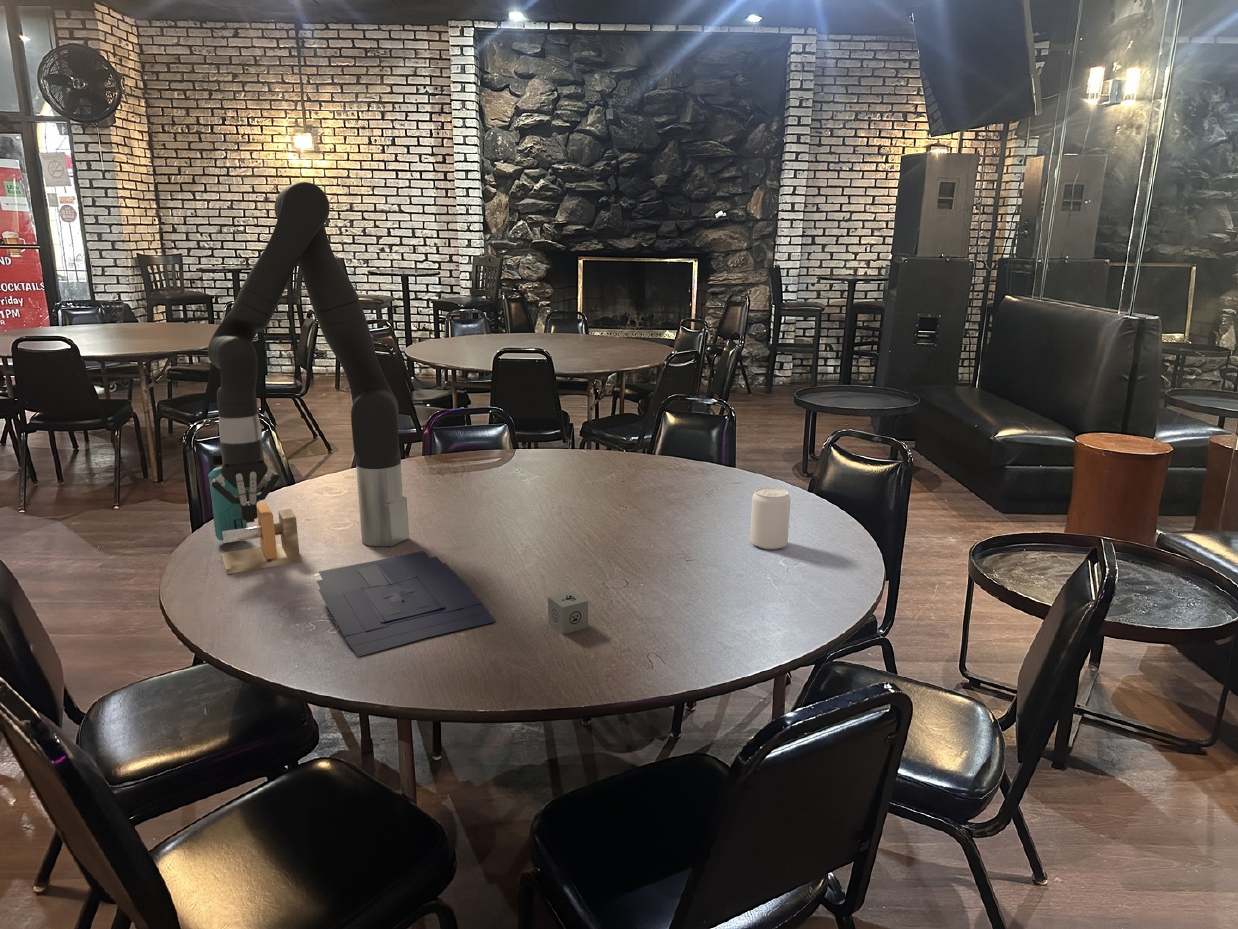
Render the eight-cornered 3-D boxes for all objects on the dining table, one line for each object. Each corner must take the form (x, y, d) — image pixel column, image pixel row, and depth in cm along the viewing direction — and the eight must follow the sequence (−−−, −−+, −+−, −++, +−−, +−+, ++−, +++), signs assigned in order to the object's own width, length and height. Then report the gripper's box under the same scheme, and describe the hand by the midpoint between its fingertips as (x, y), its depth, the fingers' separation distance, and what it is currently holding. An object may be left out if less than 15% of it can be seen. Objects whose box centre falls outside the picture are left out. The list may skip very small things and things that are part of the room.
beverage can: (791, 541, 185) (794, 489, 182) (782, 553, 178) (785, 499, 175) (755, 536, 188) (758, 484, 185) (745, 547, 181) (748, 494, 178)
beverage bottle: (236, 549, 178) (226, 457, 172) (209, 546, 179) (197, 455, 174) (255, 538, 184) (246, 450, 179) (228, 536, 185) (218, 448, 180)
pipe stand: (226, 574, 164) (221, 530, 162) (221, 557, 173) (216, 516, 170) (301, 561, 171) (297, 519, 169) (293, 546, 179) (289, 506, 177)
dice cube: (588, 627, 143) (588, 600, 142) (562, 635, 141) (562, 607, 139) (573, 617, 147) (573, 590, 146) (548, 623, 145) (547, 597, 143)
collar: (266, 559, 168) (262, 516, 166) (260, 545, 176) (256, 504, 173) (277, 557, 169) (273, 515, 167) (270, 543, 176) (266, 503, 174)
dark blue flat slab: (433, 561, 169) (433, 544, 168) (497, 634, 146) (497, 616, 144) (308, 586, 156) (307, 569, 155) (356, 672, 133) (355, 652, 132)
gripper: (274, 430, 171) (282, 511, 175) (202, 437, 164) (212, 521, 169) (279, 437, 165) (287, 521, 169) (205, 445, 158) (215, 532, 163)
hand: (250, 521), depth 169 cm, fingers closed
